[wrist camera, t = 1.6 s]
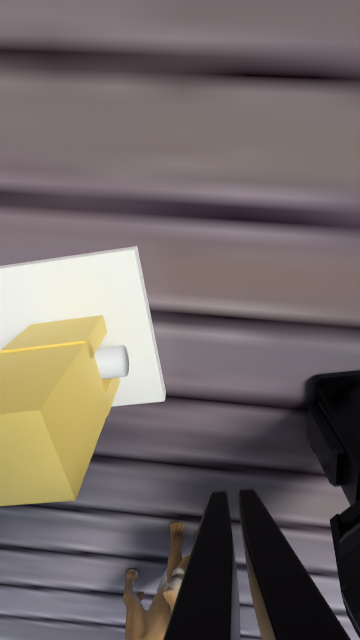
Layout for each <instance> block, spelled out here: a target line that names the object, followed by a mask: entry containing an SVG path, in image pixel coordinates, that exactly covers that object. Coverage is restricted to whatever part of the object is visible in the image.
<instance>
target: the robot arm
mask: <svg viewBox="0 0 360 640" xmlns="http://www.w3.org/2000/svg"><path fill="white" fill-rule="evenodd" d="M322 381H324V382H323V383H322V384H319V383H320V382H322ZM307 436H308V438H309V440H310V442H311V448H312V450H313V452H314V453H316V455H317V457H318V459H319V461H320V463H321V466H322V468H323V470H324V472H325V474H326V476H327V478H328V480H329V482H330V484H332V485H333V486H334V487H339V486H341V488H342V490H343V492H344V494H345V496H346V498H347V500H348V502H349V504H350V505H351V506H350V507H349V508H347V509H346V510H345V511H343V512H342V513H341V514H340V515H339V514H336V515H335V516H334V517H333V518H331V519H330V525H331V531H332V537H333V544H334V550H335V556H336V563H337V569H338V575H339V581H340V588H341V594H342V598H343V602H344V605H345V608H346V612H347V615H348V617H349V619H350V621H351V623H352V625H353V627H354V629H355V631H356V633H357V634H358V636H359V638H360V371H351V372H341V373H332V374H322V375H317V376H316V377H314V378H313V380H312V405H310V406H309V407H308V416H307ZM237 497H238V506H239V515H240V522H241V529H242V536H243V543H244V550H245V557H246V564H247V571H248V578H249V584H250V590H251V595H252V599H253V604H254V608H255V612H256V616H257V621H258V625H259V629H260V633H261V637H262V640H351V639H350V638H349V636H348V635H347V633H346V632H345V630H344V628H343V627H342V625H341V624H340V622H339V621H338V619H337V618H336V616H335V614H334V613H333V611H332V610H331V608H330V607H329V605H328V604H327V602H326V600H325V599H324V597H323V596H322V594H321V593H320V591H319V590H318V588H317V586H316V585H315V583H314V582H313V580H312V579H311V577H310V576H309V574H308V573H307V571H306V569H305V568H304V566H303V565H302V563H301V562H300V560H299V559H298V557H297V555H296V554H295V552H294V551H293V549H292V548H291V546H290V545H289V543H288V541H287V540H286V538H285V537H284V535H283V534H282V532H281V531H280V529H279V528H278V526H277V524H276V523H275V521H274V520H273V518H272V517H271V515H270V514H269V512H268V510H267V509H266V507H265V506H264V504H263V503H262V501H261V500H260V498H259V496H258V495H257V493H256V492H255V490H254V489H252V488H242V489H238V490H237ZM163 640H240V605H239V588H238V578H237V570H236V562H235V554H234V545H233V537H232V529H231V521H230V513H229V505H228V497H227V492H226V491H225V490H215V491H211V493H210V495H209V498H208V501H207V504H206V507H205V510H204V513H203V516H202V519H201V523H200V526H199V529H198V532H197V535H196V538H195V541H194V544H193V548H192V551H191V554H190V557H189V560H188V563H187V566H186V569H185V573H184V576H183V579H182V582H181V585H180V588H179V591H178V594H177V598H176V601H175V604H174V607H173V610H172V613H171V616H170V619H169V623H168V626H167V629H166V632H165V635H164V638H163Z"/></svg>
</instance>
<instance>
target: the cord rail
mask: <svg viewBox="0 0 360 640" xmlns="http://www.w3.org/2000/svg"><path fill="white" fill-rule="evenodd" d="M99 315H103V317H104V320H105V324H106V328H107V334H106V335H105V337H104V339H103V341H102V342H101V344H100V346H99V347H98V349H97V351H96V353H95V354H94V356H95V359H96V363H97V366H98V370H99V373H100V377H101V379H108V378H118V377H119V378H120V384H119V387H118V390H117V392H116V395H115V398H114V401H113V403H112V406H122V405H132V404H142V403H152V402H162V401H165V395H166V390H165V385H164V380H163V375H162V370H161V365H160V360H159V355H158V350H157V345H156V339H155V334H154V329H153V324H152V319H151V314H150V309H149V304H148V299H147V294H146V289H145V284H144V279H143V274H142V269H141V264H140V259H139V253H138V248H137V246H134V247H128V248H121V249H114V250H107V251H100V252H93V253H86V254H79V255H73V256H66V257H59V258H52V259H45V260H38V261H31V262H24V263H18V264H11V265H4V266H0V350H1V349H2V348H4V347H5V346H6V345H7V344H8V343H10V342H11V341H12V340H13V339H14V338H15V337H17V336H18V335H19V334H20V333H21V332H23V331H24V330H25V329H26V328H27V327H28V326H30V325H31V324H36V323H44V322H52V321H60V320H67V319H75V318H83V317H91V316H99ZM112 406H111V407H112Z"/></svg>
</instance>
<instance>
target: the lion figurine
mask: <svg viewBox="0 0 360 640" xmlns="http://www.w3.org/2000/svg"><path fill="white" fill-rule="evenodd" d="M169 527H170V539H171V548H170V554H169V558H168V567H167V568H166V570H165V572H164V575H163V578H162V580H161V582H160V584H159V587H158V589H157V593H156V595H155V597H154V599H153V601H152V604H151V606H150V608H149V610H147V611H146V610H145V609H144V608H143V606H142V604H141V602H140V601H141V600H142V599H143V598H144V592H137V594H138V595H136V594H135V593H134V592H133V584H134V582H135V581H136V580H137V578H138V571H137V570H134V569H129V570H127V572H126V582H125V590H124V595H123V596H124V603H125V605H126V610H127V613H126V634H125V640H163V638H164V635H165V632H166V629H167V626H168V623H169V619H170V616H171V613H172V610H173V607H174V604H175V601H176V598H177V594H178V591H179V588H180V585H181V582H182V579H183V576H184V573H185V569H186V566H187V563H188V560H189V557H190V555H188V556H186V557H184V558H183V559H182V555H181V549H182V542H183V529H184V527H183V524H182V523H181V522H172V523H170V524H169Z"/></svg>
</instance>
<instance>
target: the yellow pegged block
mask: <svg viewBox="0 0 360 640" xmlns="http://www.w3.org/2000/svg"><path fill="white" fill-rule="evenodd" d="M106 334H107V328H106V324H105V320H104V317H103V315H99V316H91V317H83V318H75V319H67V320H60V321H52V322H44V323H36V324H31V325H30V326H28V327H27V328H26V329H25V330H24V331H23V332H21V333H20V334H19V335H18V336H17V337H15V338H14V339H13V340H12V341H11V342H10V343H8V344H7V345H6V346H5V347H4V348H2V349H1V350H0V506H8V505H21V504H34V503H48V502H61V501H75V500H76V498H77V495H78V493H79V490H80V487H81V485H82V482H83V479H84V476H85V474H86V471H87V468H88V466H89V463H90V460H91V457H92V455H93V452H94V449H95V447H96V444H97V441H98V439H99V436H100V433H101V430H102V428H103V425H104V422H105V420H106V417H108V414H109V412H110V409H111V406H112V403H113V401H114V398H115V395H116V392H117V390H118V387H119V384H120V378H119V377H118V378H108V379H101V377H100V373H99V370H98V366H97V363H96V359H95V356H94V354H95V353H96V351H97V349H98V347H99V346H100V344H101V342H102V341H103V339H104V337H105V335H106Z"/></svg>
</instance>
